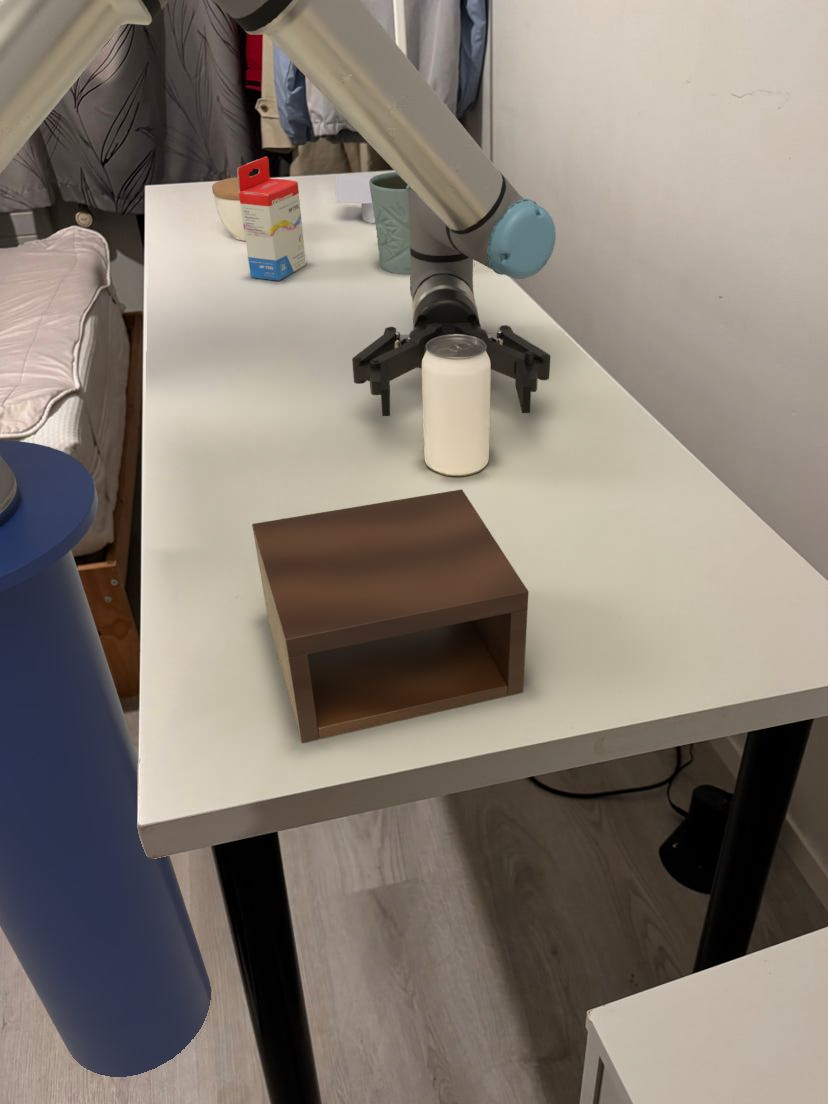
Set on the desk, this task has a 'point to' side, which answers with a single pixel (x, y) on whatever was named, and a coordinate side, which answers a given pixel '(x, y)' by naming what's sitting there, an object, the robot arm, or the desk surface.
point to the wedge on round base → (356, 193)
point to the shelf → (390, 612)
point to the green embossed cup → (391, 221)
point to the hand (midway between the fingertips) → (456, 401)
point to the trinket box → (229, 206)
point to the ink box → (270, 222)
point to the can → (456, 404)
